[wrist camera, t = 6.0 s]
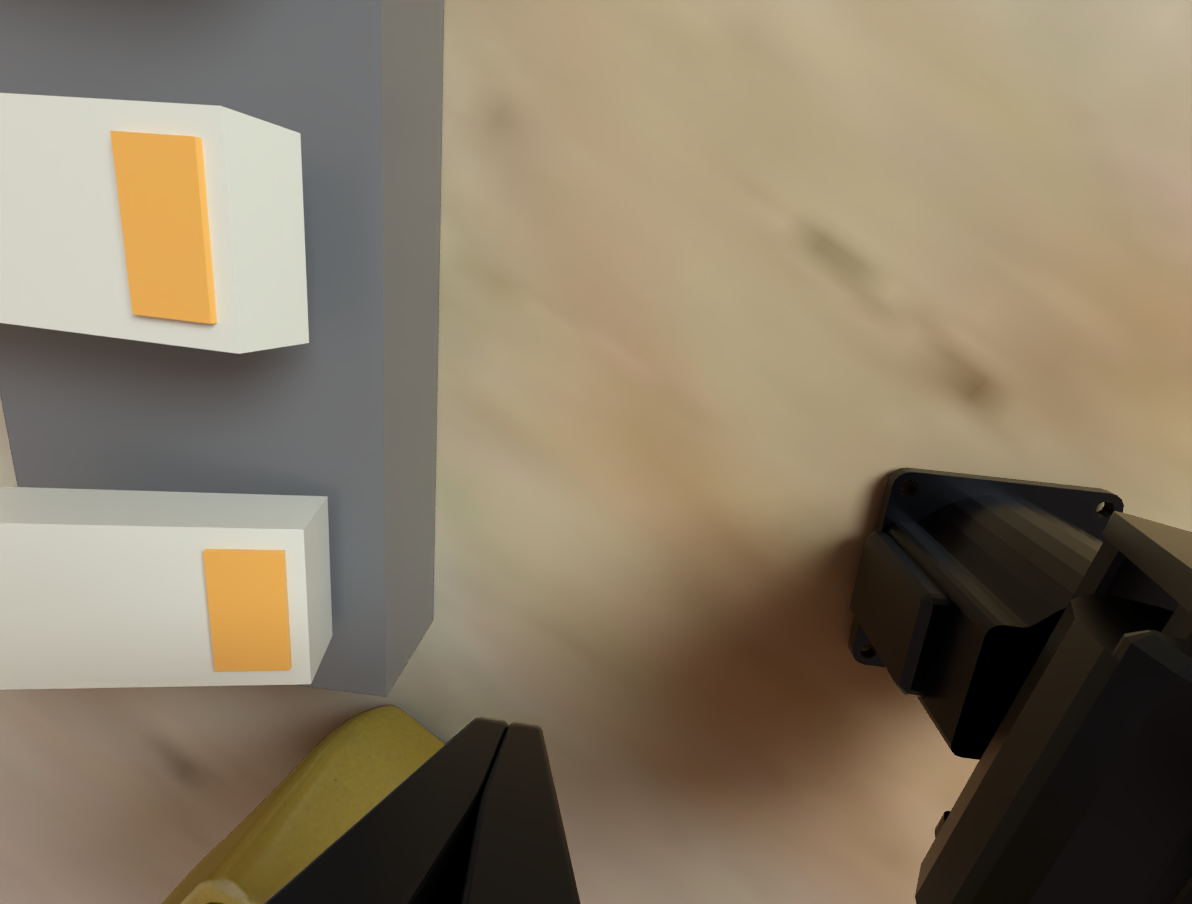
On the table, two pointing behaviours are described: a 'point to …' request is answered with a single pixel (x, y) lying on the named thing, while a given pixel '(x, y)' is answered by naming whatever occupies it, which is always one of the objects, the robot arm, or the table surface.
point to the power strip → (334, 294)
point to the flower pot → (311, 808)
